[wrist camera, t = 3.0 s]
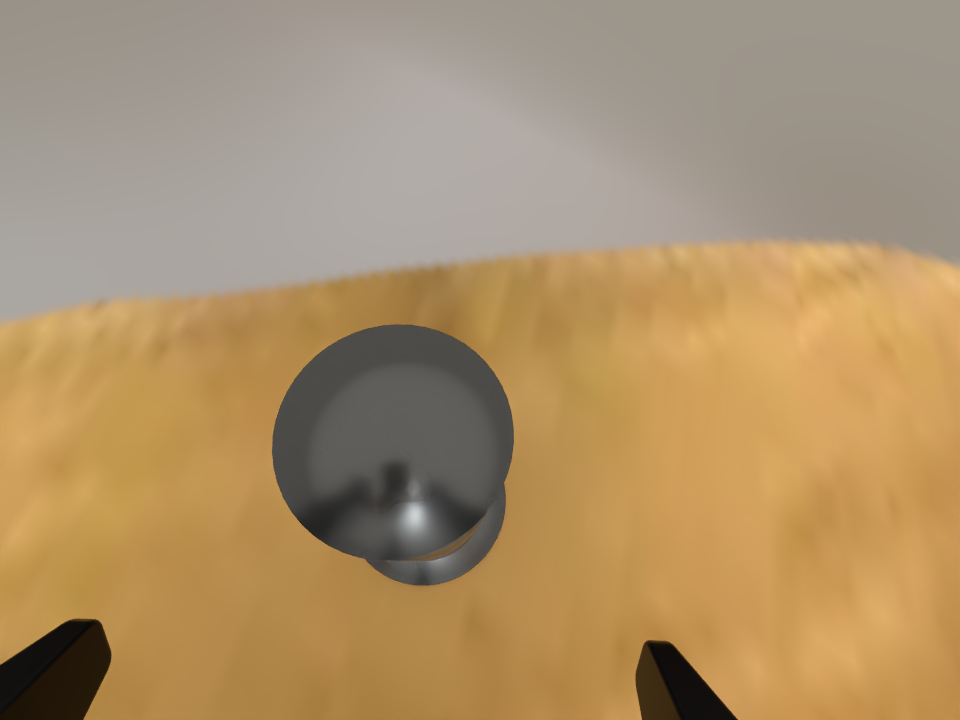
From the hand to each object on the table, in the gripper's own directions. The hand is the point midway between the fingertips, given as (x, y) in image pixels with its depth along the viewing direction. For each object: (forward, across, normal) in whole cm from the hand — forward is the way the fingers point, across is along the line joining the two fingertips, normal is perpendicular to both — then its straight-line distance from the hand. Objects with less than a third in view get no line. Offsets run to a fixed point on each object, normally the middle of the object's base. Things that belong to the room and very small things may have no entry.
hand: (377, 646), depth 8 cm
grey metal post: (+10, 0, +5) cm, 11 cm away
